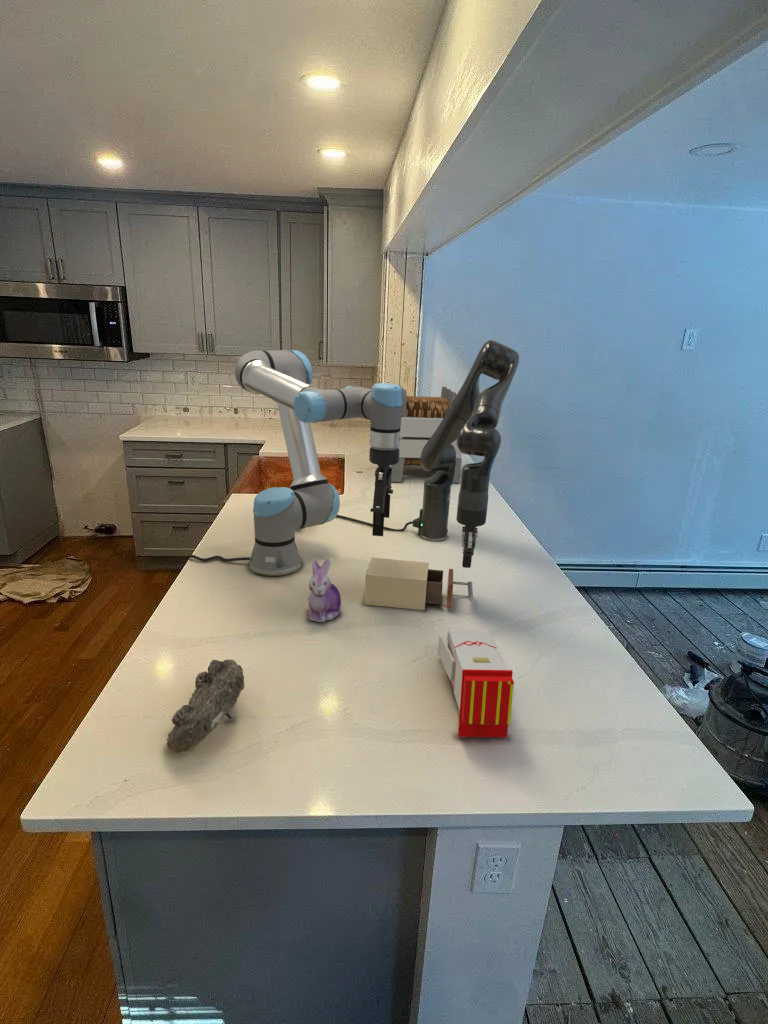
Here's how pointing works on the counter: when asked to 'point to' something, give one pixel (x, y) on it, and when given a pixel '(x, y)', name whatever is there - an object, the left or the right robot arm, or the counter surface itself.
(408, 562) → the cabinet
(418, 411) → the white box
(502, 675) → the toy
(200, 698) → the fossil
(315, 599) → the figurine
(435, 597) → the drawer
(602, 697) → the counter surface
